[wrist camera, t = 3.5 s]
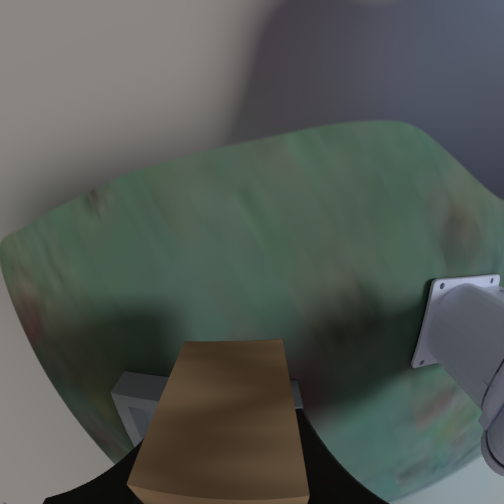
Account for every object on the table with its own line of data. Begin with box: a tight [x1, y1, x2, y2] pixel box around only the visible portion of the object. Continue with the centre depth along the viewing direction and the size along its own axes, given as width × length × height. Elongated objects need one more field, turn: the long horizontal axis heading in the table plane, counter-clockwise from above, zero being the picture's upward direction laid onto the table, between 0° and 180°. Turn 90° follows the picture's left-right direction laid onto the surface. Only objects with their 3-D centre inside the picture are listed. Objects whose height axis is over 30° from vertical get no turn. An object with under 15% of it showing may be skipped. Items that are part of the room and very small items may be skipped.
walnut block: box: [127, 339, 310, 504], centre depth 8 cm, size 4×6×7 cm, turn 3°
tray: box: [110, 371, 303, 447], centre depth 19 cm, size 14×12×3 cm
